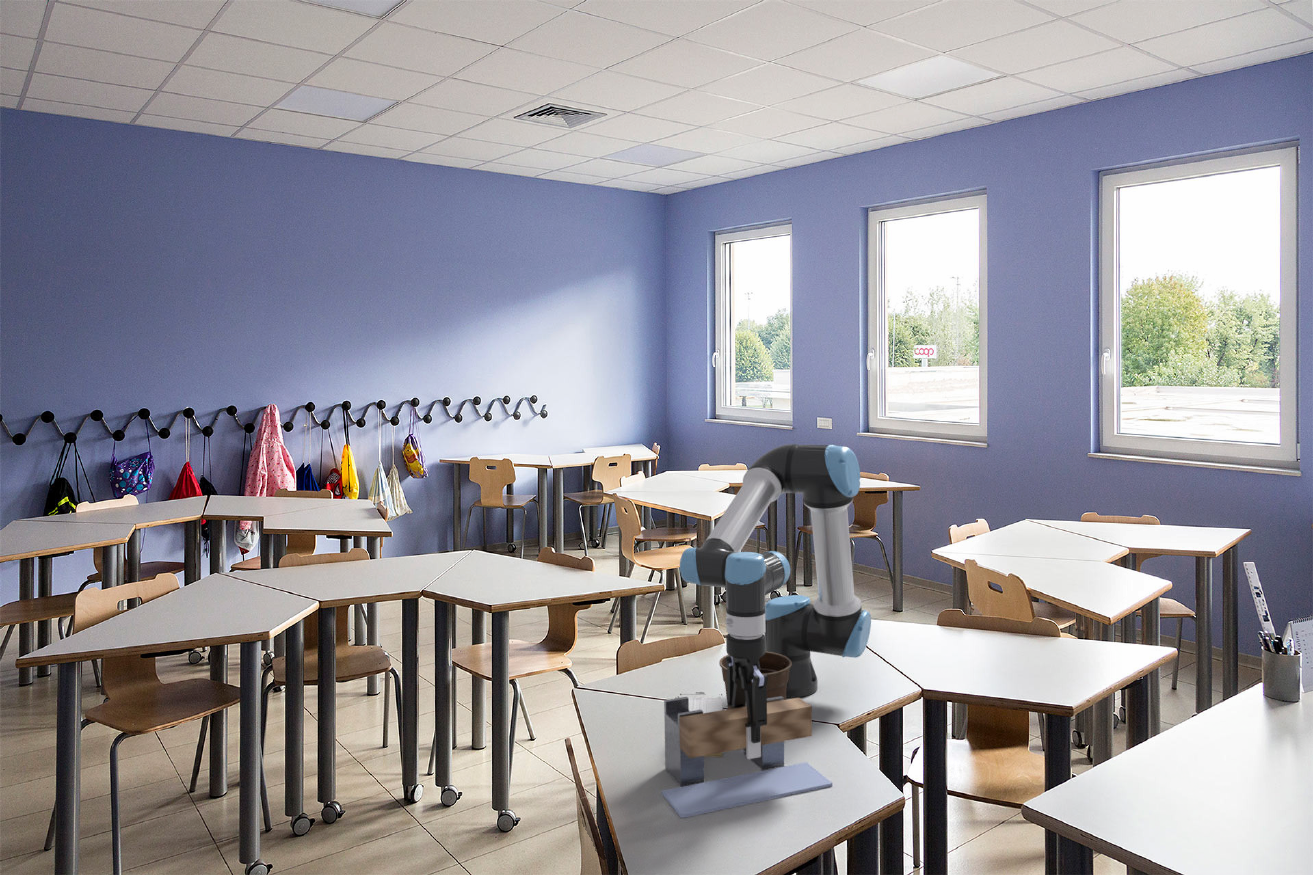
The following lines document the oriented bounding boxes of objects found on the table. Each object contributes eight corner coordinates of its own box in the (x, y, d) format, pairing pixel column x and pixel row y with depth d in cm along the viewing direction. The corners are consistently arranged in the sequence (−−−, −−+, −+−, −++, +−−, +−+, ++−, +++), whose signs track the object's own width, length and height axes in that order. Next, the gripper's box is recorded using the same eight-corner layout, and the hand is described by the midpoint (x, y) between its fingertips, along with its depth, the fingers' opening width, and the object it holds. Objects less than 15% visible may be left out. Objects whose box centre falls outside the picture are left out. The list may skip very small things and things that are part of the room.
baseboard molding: (666, 758, 187) (722, 759, 186) (665, 745, 187) (722, 746, 186) (674, 703, 218) (722, 703, 217) (674, 691, 218) (722, 692, 217)
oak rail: (799, 726, 177) (798, 697, 177) (811, 735, 173) (811, 706, 172) (679, 747, 168) (679, 717, 168) (689, 758, 164) (689, 726, 163)
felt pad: (806, 764, 182) (806, 761, 182) (832, 785, 172) (832, 782, 172) (661, 793, 170) (661, 790, 170) (681, 817, 161) (681, 814, 161)
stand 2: (765, 749, 189) (764, 683, 188) (784, 766, 181) (783, 697, 180) (744, 753, 187) (743, 687, 186) (762, 770, 179) (761, 701, 178)
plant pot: (710, 721, 205) (709, 653, 203) (774, 712, 209) (774, 646, 208) (735, 750, 189) (734, 677, 188) (804, 740, 193) (803, 669, 192)
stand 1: (687, 764, 183) (686, 696, 182) (704, 781, 175) (703, 711, 174) (665, 768, 181) (664, 700, 180) (680, 786, 173) (679, 715, 172)
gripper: (708, 623, 176) (710, 736, 178) (749, 649, 159) (750, 774, 161) (742, 619, 179) (743, 730, 180) (785, 644, 162) (786, 767, 164)
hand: (746, 750), depth 171 cm, fingers closed on oak rail, 5 cm apart
